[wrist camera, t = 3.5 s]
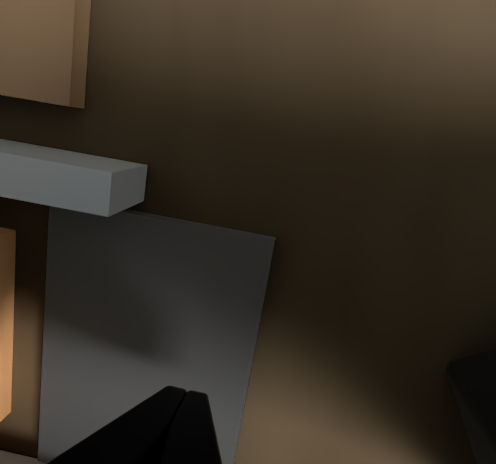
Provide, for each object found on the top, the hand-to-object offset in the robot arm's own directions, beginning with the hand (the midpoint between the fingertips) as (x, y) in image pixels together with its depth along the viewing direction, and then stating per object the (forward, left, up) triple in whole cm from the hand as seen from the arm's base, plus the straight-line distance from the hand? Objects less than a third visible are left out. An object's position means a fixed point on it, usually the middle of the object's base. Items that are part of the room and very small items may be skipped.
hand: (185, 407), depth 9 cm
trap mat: (+1, 0, -2) cm, 2 cm away
